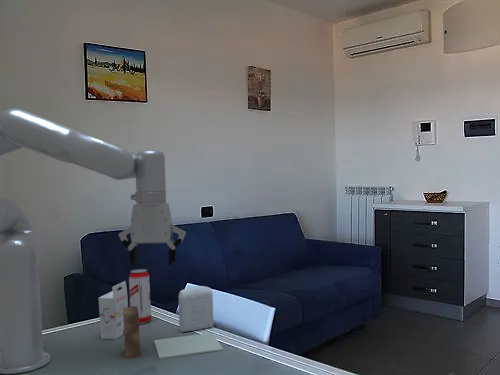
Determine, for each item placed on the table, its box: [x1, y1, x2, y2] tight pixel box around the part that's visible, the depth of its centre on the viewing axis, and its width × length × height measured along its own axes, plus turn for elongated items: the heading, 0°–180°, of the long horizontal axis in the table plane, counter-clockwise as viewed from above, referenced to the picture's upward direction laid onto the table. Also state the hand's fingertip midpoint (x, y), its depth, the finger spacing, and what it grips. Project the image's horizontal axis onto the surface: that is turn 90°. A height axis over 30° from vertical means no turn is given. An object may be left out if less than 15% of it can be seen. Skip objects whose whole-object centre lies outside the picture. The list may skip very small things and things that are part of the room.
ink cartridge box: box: [98, 280, 129, 340], centre depth 142 cm, size 9×5×15 cm, turn 168°
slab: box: [123, 306, 141, 360], centre depth 126 cm, size 4×7×11 cm, turn 16°
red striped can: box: [128, 268, 152, 325], centre depth 154 cm, size 6×6×16 cm
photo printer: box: [178, 285, 214, 333], centre depth 145 cm, size 10×4×12 cm, turn 116°
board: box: [153, 332, 224, 360], centre depth 130 cm, size 16×14×1 cm
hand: (153, 264), depth 128 cm, fingers open, 9 cm apart
